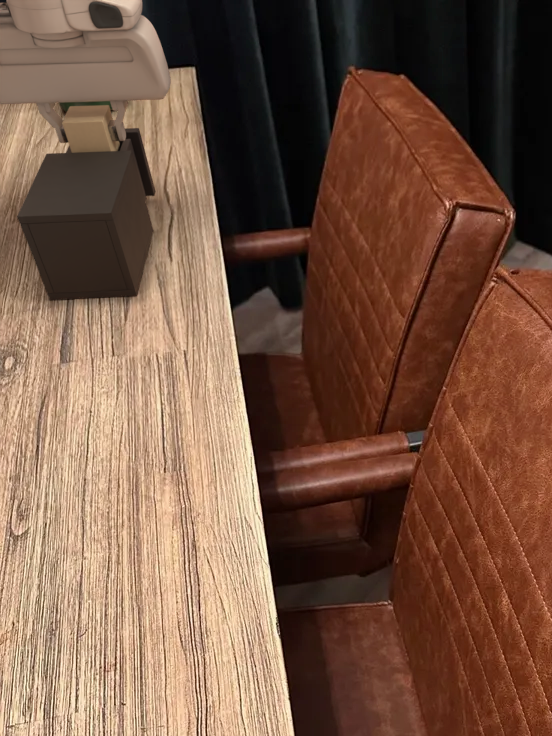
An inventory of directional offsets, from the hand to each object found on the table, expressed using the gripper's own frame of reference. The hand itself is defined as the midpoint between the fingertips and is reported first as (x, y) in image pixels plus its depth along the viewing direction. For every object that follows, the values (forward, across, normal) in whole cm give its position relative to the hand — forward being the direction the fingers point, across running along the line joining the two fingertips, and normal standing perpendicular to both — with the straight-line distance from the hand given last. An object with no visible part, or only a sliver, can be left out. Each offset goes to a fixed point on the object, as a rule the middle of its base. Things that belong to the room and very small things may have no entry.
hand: (94, 140), depth 101 cm
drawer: (+9, 0, 0) cm, 9 cm away
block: (+2, 0, 0) cm, 2 cm away
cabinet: (+10, 0, -11) cm, 14 cm away
